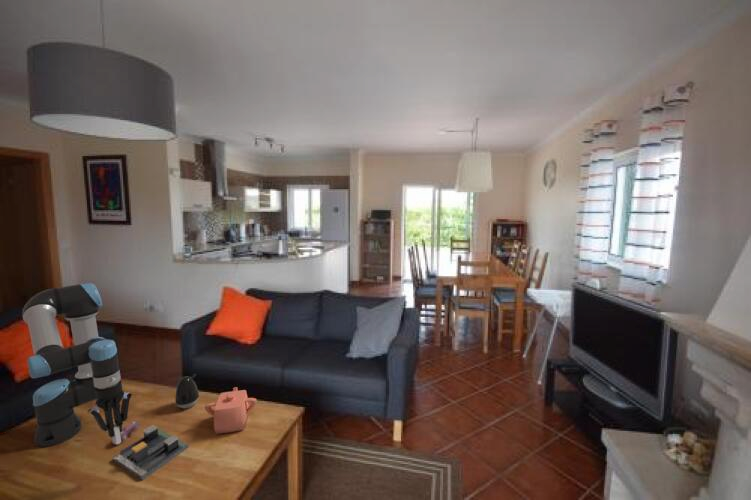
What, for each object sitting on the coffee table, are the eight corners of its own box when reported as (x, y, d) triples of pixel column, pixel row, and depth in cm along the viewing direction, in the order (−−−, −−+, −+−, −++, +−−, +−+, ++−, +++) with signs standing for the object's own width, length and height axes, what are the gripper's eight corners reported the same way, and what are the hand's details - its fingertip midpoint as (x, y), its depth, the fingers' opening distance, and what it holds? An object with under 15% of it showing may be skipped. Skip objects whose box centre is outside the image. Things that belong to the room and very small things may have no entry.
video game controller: (118, 449, 141) (122, 437, 139) (109, 443, 141) (113, 431, 139) (138, 433, 150) (143, 421, 148) (130, 427, 151) (134, 416, 149)
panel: (113, 460, 133) (111, 446, 132) (159, 432, 148) (158, 419, 147) (142, 480, 124) (140, 465, 123) (188, 447, 139) (187, 434, 138)
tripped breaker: (133, 459, 131) (131, 448, 130) (143, 452, 135) (142, 441, 134) (137, 461, 130) (135, 451, 129) (148, 454, 133) (146, 444, 132)
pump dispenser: (204, 402, 169) (201, 375, 166) (183, 414, 160) (180, 385, 158) (192, 396, 174) (190, 369, 172) (172, 407, 166) (168, 378, 163)
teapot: (255, 430, 150) (253, 401, 147) (202, 437, 145) (199, 408, 143) (260, 403, 169) (259, 377, 166) (213, 409, 164) (211, 383, 162)
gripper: (91, 396, 113) (101, 458, 117) (133, 377, 124) (141, 434, 128) (80, 390, 116) (90, 450, 120) (122, 372, 128) (130, 428, 131)
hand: (117, 442), depth 124 cm, fingers closed
